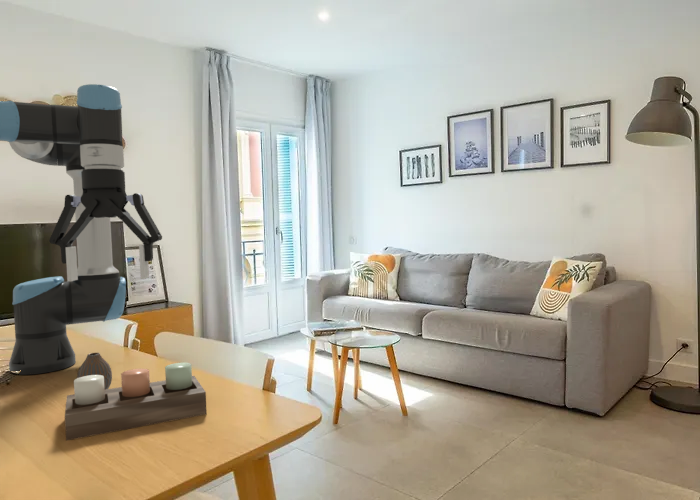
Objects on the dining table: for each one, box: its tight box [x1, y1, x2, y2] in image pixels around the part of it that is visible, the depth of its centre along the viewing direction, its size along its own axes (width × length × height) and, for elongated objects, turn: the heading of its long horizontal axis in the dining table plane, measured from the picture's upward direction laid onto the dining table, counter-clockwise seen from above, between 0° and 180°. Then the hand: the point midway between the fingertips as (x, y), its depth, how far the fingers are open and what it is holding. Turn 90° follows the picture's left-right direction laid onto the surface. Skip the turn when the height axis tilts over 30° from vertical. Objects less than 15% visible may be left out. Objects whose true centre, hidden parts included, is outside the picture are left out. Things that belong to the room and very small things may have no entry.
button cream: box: [73, 375, 105, 405], centre depth 98 cm, size 5×5×4 cm
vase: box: [76, 352, 113, 390], centre depth 116 cm, size 7×7×9 cm
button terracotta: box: [120, 368, 151, 397], centre depth 101 cm, size 5×5×4 cm
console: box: [64, 375, 208, 441], centre depth 101 cm, size 12×24×4 cm, turn 117°
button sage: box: [164, 362, 193, 390], centre depth 105 cm, size 5×5×4 cm
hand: (109, 279), depth 102 cm, fingers open, 13 cm apart
